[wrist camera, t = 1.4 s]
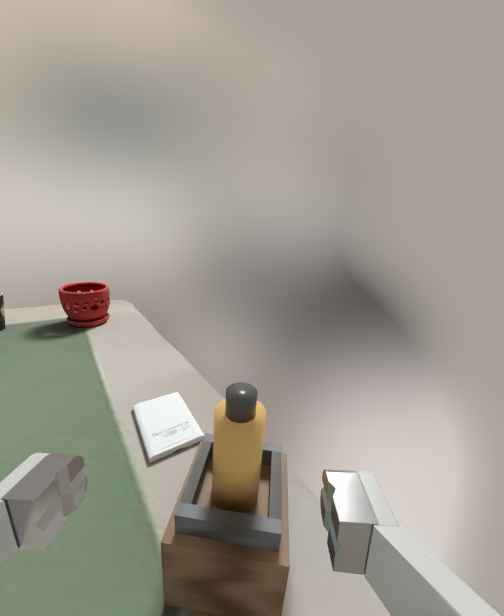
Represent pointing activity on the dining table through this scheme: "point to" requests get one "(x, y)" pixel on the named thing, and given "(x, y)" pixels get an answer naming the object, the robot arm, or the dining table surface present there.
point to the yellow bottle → (237, 448)
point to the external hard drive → (166, 425)
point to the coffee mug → (2, 313)
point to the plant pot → (85, 303)
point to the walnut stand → (228, 543)
